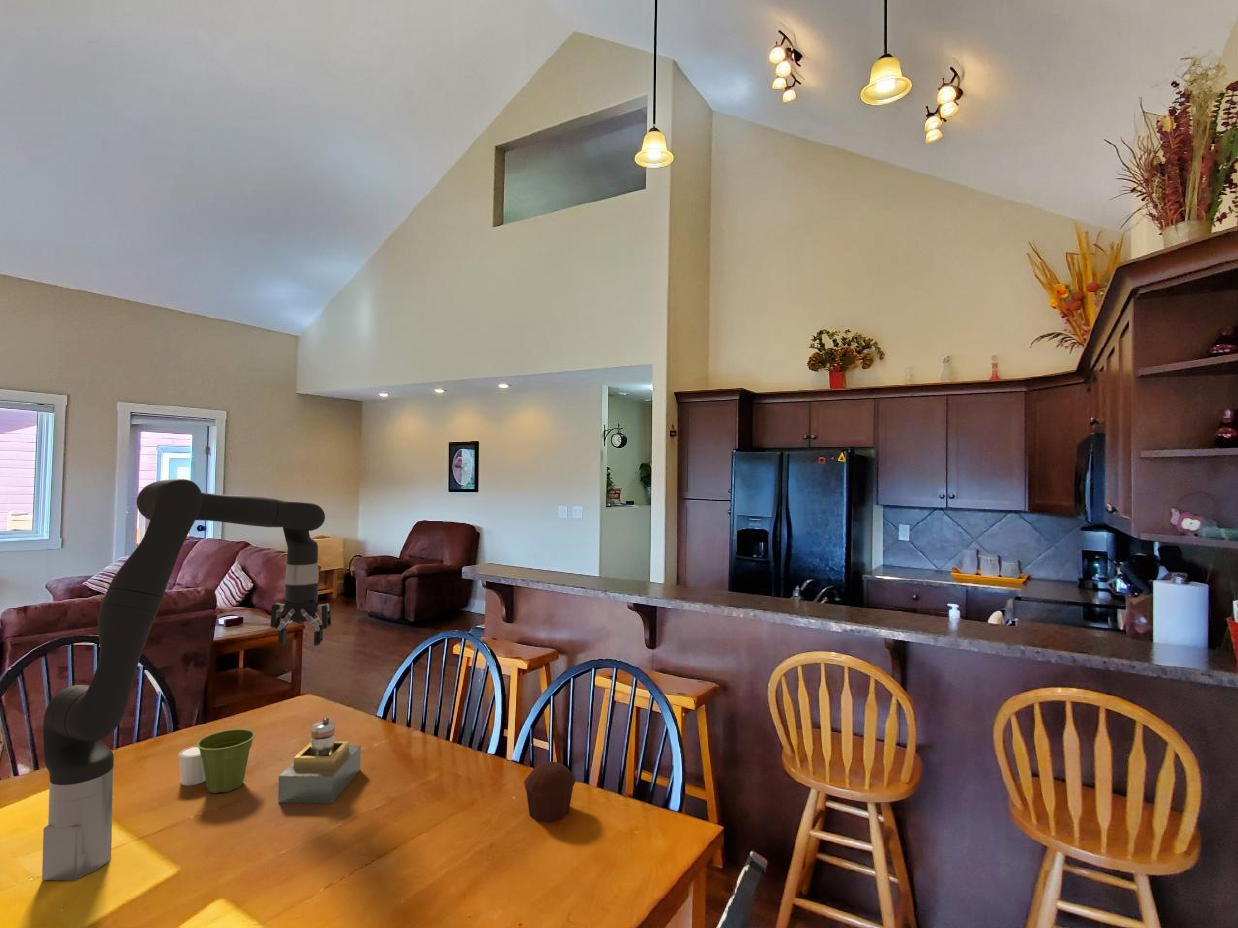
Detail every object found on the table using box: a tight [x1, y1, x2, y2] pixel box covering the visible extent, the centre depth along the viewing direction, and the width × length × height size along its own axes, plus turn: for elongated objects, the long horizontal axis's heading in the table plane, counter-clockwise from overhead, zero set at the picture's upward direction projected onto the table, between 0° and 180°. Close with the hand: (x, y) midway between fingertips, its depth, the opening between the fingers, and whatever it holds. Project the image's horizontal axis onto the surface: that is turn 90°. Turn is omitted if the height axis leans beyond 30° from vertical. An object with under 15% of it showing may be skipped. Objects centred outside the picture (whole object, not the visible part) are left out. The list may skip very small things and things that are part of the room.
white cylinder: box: [178, 745, 206, 786], centre depth 152 cm, size 7×7×7 cm
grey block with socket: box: [277, 740, 362, 804], centre depth 151 cm, size 16×12×8 cm
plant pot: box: [195, 728, 256, 794], centre depth 149 cm, size 12×12×11 cm
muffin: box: [523, 761, 576, 823], centre depth 141 cm, size 12×11×10 cm
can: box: [310, 717, 336, 756], centre depth 150 cm, size 5×5×9 cm
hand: (300, 644), depth 161 cm, fingers open, 8 cm apart
